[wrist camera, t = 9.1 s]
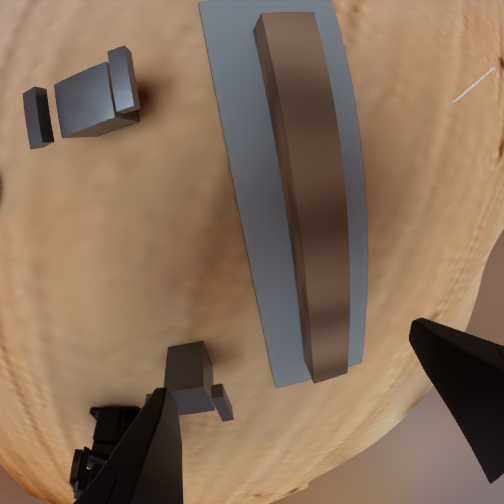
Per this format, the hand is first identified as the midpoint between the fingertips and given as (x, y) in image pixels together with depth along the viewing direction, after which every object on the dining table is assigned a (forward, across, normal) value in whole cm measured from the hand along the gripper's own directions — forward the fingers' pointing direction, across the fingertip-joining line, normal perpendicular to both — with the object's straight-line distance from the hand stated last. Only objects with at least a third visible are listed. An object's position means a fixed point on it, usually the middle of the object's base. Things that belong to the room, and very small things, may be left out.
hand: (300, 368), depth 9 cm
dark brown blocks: (+12, +7, +9) cm, 16 cm away
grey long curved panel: (+12, -4, -1) cm, 13 cm away
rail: (+11, -4, -1) cm, 12 cm away
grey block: (+12, +7, -11) cm, 18 cm away
